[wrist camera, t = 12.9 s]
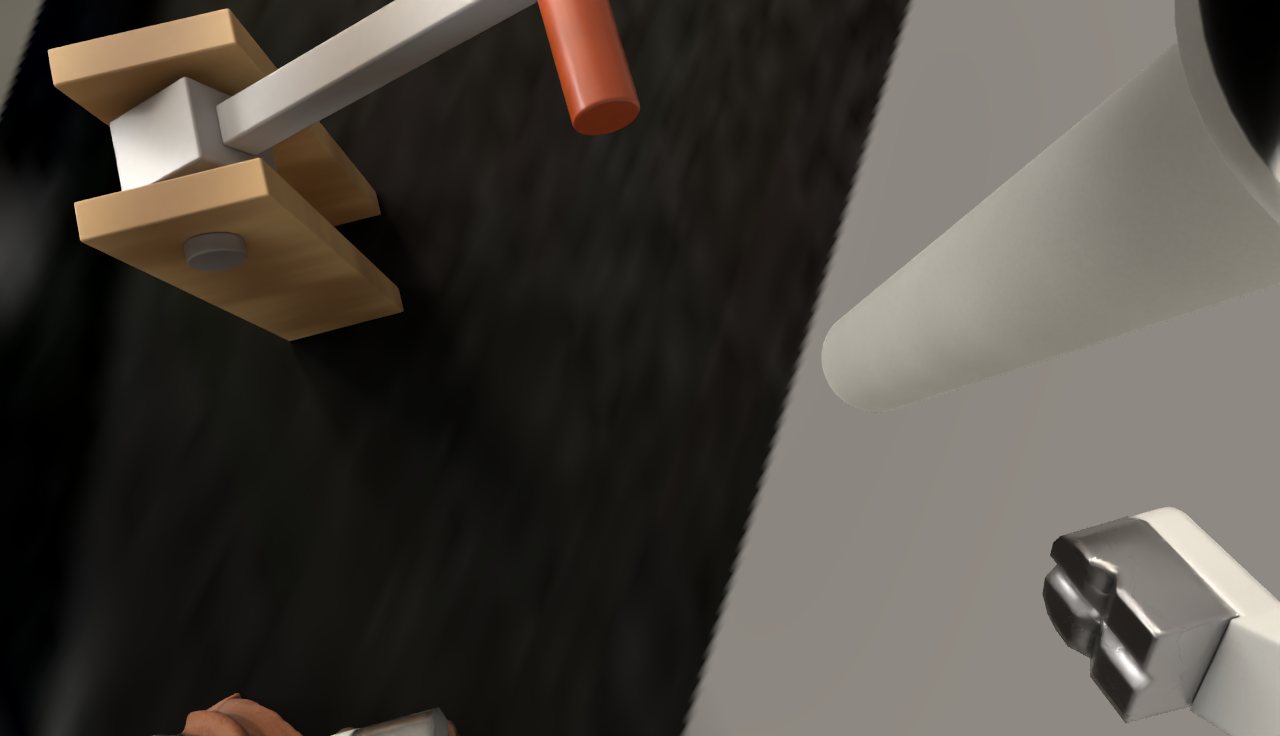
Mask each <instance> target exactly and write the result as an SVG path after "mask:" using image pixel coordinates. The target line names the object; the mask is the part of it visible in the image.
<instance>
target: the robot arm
mask: <svg viewBox="0 0 1280 736" xmlns="http://www.w3.org/2000/svg"><path fill="white" fill-rule="evenodd" d="M1050 556H1051V557H1052V558H1053V559H1054V561H1055V562H1056V563H1057V565H1056V566H1055V567H1054V569H1053V570H1052V571H1051V572H1050V573H1049V574H1048V575H1047V576H1046V577H1045V582H1044V589H1043V597H1044V601H1045V605H1046V609H1047V613H1048V615H1049V617H1050V619H1051V621H1052V623H1053V625H1054V627H1055V629H1056V631H1057V632H1058V633H1059V635H1060V636H1061V637H1062V639H1063V640H1064V642H1065V643H1066V644H1067V646H1068V647H1070V648H1072V649H1074V650H1076V651H1078V652H1080V653H1082V654H1083V655H1085V656H1087V657H1089V658H1090V676H1091V678H1092V679H1093V681H1094V682H1095V683H1096V685H1097V686H1098V687H1099V688H1100V690H1101V691H1102V692H1103V694H1104V695H1105V696H1106V698H1107V699H1108V700H1109V702H1110V703H1111V704H1112V705H1113V707H1114V708H1115V710H1116V711H1117V712H1118V714H1119V715H1120V716H1121V718H1122V719H1123V720H1124V722H1125V723H1128V722H1132V721H1136V720H1140V719H1143V718H1147V717H1151V716H1155V715H1159V714H1162V713H1167V712H1170V711H1174V710H1178V709H1182V708H1185V707H1190V706H1191V709H1190V711H1192V712H1193V713H1195V714H1196V715H1198V716H1200V717H1201V718H1203V719H1204V720H1206V721H1207V722H1209V723H1211V724H1212V725H1214V726H1215V727H1217V728H1219V729H1220V730H1222V731H1223V732H1225V733H1226V734H1228V735H1230V736H1280V602H1279V601H1278V600H1277V599H1276V598H1275V597H1274V596H1273V595H1272V594H1271V593H1270V592H1269V591H1268V590H1266V589H1265V588H1264V587H1263V586H1262V585H1261V584H1260V583H1259V582H1258V581H1257V580H1256V579H1255V578H1254V577H1252V575H1250V574H1249V573H1248V572H1247V571H1246V570H1245V569H1244V568H1243V567H1242V566H1241V565H1239V563H1237V561H1235V560H1234V559H1233V558H1232V557H1231V556H1230V555H1229V554H1228V553H1227V552H1226V551H1225V550H1224V549H1223V548H1222V547H1220V546H1219V545H1218V544H1217V543H1216V542H1215V541H1214V540H1213V539H1212V538H1211V537H1210V536H1209V535H1207V533H1205V532H1204V531H1203V530H1202V529H1201V528H1200V527H1199V526H1198V525H1197V524H1196V523H1195V522H1194V521H1192V519H1191V518H1189V517H1188V516H1187V515H1186V514H1185V513H1184V512H1182V511H1180V510H1178V509H1176V508H1174V507H1163V508H1159V509H1155V510H1152V511H1149V512H1145V513H1142V514H1138V515H1135V516H1131V517H1124V518H1121V519H1117V520H1114V521H1110V522H1107V523H1104V524H1100V525H1097V526H1093V527H1090V528H1087V529H1083V530H1080V531H1076V532H1073V533H1070V534H1067V535H1063V536H1060V537H1059V538H1058V539H1057V540H1056V541H1054V542H1053V546H1052V550H1051V554H1050ZM332 736H448V720H447V719H446V717H445V716H444V714H443V713H442V711H441V709H440V708H439V707H438V708H435V709H431V710H427V711H423V712H420V713H416V714H412V715H408V716H405V717H401V718H397V719H393V720H390V721H386V722H382V723H378V724H375V725H371V726H367V727H363V728H358V729H353V730H350V731H346V732H343V733H339V734H335V735H332Z"/></svg>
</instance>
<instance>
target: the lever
mask: <svg viewBox="0 0 1280 736" xmlns="http://www.w3.org/2000/svg"><path fill="white" fill-rule="evenodd" d="M536 2H538V4H539V7H540V11H541V15H542V18H543V22H544V25H545V29H546V32H547V36H548V39H549V43H550V47H551V50H552V54H553V57H554V61H555V64H556V68H557V71H558V75H559V79H560V82H561V86H562V89H563V93H564V96H565V100H566V104H567V107H568V111H569V114H570V118H571V121H572V125H573V127H574V128H575V130H576V131H577V132H579V133H581V134H585V135H602V134H607V133H610V132H614V131H616V130H619V129H621V128H623V127H625V126H627V125H628V124H630V123H631V122H632V121H633V120H634V119H635V118H636V117H637V116H638V114H639V111H640V103H639V100H638V97H637V93H636V90H635V86H634V83H633V80H632V76H631V73H630V70H629V66H628V63H627V60H626V56H625V53H624V49H623V46H622V43H621V39H620V36H619V33H618V29H617V26H616V22H615V19H614V16H613V12H612V9H611V6H610V2H609V0H395V1H393V2H392V3H390V4H388V5H386V6H385V7H383V8H381V9H380V10H378V11H376V12H375V13H373V14H371V15H369V16H368V17H366V18H364V19H363V20H361V21H359V22H358V23H356V24H354V25H353V26H351V27H349V28H347V29H346V30H344V31H342V32H341V33H339V34H337V35H336V36H334V37H332V38H330V39H329V40H327V41H325V42H324V43H322V44H320V45H319V46H317V47H315V48H313V49H312V50H310V51H308V52H307V53H305V54H303V55H302V56H300V57H298V58H297V59H295V60H293V61H291V62H290V63H288V64H286V65H285V66H283V67H281V68H280V69H278V70H276V71H274V72H273V73H271V74H269V75H268V76H266V77H264V78H263V79H261V80H259V81H258V82H256V83H254V84H252V85H251V86H249V87H247V88H246V89H244V90H242V91H241V92H239V93H237V94H235V95H234V96H230V95H227V94H225V93H223V92H220V91H218V90H216V89H213V88H211V87H209V86H206V85H204V84H202V83H199V82H197V81H195V80H192V79H190V78H188V77H183V78H181V79H179V80H178V81H176V82H175V83H173V84H171V85H170V86H168V87H167V88H165V89H163V90H162V91H160V92H158V93H157V94H155V95H154V96H152V97H150V98H149V99H147V100H146V101H144V102H142V103H141V104H139V105H137V106H136V107H134V108H133V109H131V110H129V111H128V112H126V113H125V114H123V115H121V116H120V117H118V118H116V119H115V120H113V121H112V122H110V129H111V134H112V140H113V145H114V151H115V156H116V162H117V167H118V172H119V178H120V183H121V189H122V191H124V190H129V189H133V188H137V187H141V186H145V185H149V184H153V183H157V182H161V181H165V180H170V179H174V178H178V177H182V176H186V175H190V174H194V173H198V172H202V171H206V170H211V169H215V168H219V167H223V166H227V165H231V164H235V163H239V162H243V161H248V160H252V159H256V158H262V159H263V160H264V161H265V162H266V163H267V164H268V165H269V166H270V167H271V168H272V169H273V170H274V171H275V172H277V169H276V164H275V160H274V155H273V150H272V146H274V145H276V144H278V143H280V142H281V141H283V140H285V139H287V138H289V137H291V136H292V135H294V134H296V133H298V132H300V131H302V130H303V129H305V128H307V127H309V126H311V125H313V124H314V123H316V122H318V121H320V120H322V119H323V118H325V117H327V116H329V115H331V114H333V113H334V112H336V111H338V110H340V109H342V108H344V107H345V106H347V105H349V104H351V103H353V102H355V101H356V100H358V99H360V98H362V97H364V96H366V95H367V94H369V93H371V92H373V91H375V90H377V89H378V88H380V87H382V86H384V85H386V84H388V83H389V82H391V81H393V80H395V79H397V78H399V77H400V76H402V75H404V74H406V73H408V72H410V71H411V70H413V69H415V68H417V67H419V66H421V65H422V64H424V63H426V62H428V61H430V60H432V59H433V58H435V57H437V56H439V55H441V54H443V53H444V52H446V51H448V50H450V49H452V48H454V47H455V46H457V45H459V44H461V43H463V42H464V41H466V40H468V39H470V38H472V37H474V36H475V35H477V34H479V33H481V32H483V31H485V30H486V29H488V28H490V27H492V26H494V25H496V24H497V23H499V22H501V21H503V20H505V19H507V18H508V17H510V16H512V15H514V14H516V13H518V12H519V11H521V10H523V9H525V8H527V7H529V6H530V5H532V4H534V3H536Z"/></svg>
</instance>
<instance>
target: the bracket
mask: <svg viewBox="0 0 1280 736" xmlns="http://www.w3.org/2000/svg"><path fill="white" fill-rule="evenodd" d="M48 55H49V60H50V66H51V72H52V78H53V83H54V86H55V87H56V88H58V89H59V90H60V91H62V92H63V93H64V94H66V95H67V96H69V97H70V98H71V99H73V100H74V101H75V102H77V103H78V104H80V105H81V106H82V107H84V108H85V109H86V110H88V111H89V112H91V113H92V114H93V115H95V116H96V117H97V118H99V119H100V120H102V121H103V122H104V123H106V124H107V125H108V126H110V122H112V121H113V120H115V119H116V118H118V117H120V116H121V115H123V114H125V113H126V112H128V111H129V110H131V109H133V108H134V107H136V106H137V105H139V104H141V103H142V102H144V101H146V100H147V99H149V98H150V97H152V96H154V95H155V94H157V93H158V92H160V91H162V90H163V89H165V88H167V87H168V86H170V85H171V84H173V83H175V82H176V81H178V80H179V79H181V78H183V77H188V78H190V79H192V80H195V81H197V82H199V83H202V84H204V85H206V86H209V87H211V88H213V89H216V90H218V91H220V92H223V93H225V94H227V95H230V96H234V95H235V94H237V93H239V92H241V91H242V90H244V89H246V88H247V87H249V86H251V85H252V84H254V83H256V82H258V81H259V80H261V79H263V78H264V77H266V76H268V75H269V74H271V73H273V72H274V71H276V70H278V69H277V68H276V67H275V66H274V64H273V63H272V62H271V61H270V59H269V58H268V57H267V56H266V54H265V53H264V52H263V51H262V49H261V48H260V47H259V46H258V44H257V43H256V42H255V41H254V39H253V38H252V37H251V36H250V34H249V33H248V32H247V31H246V29H245V28H244V27H243V26H242V24H241V23H240V22H239V21H238V19H237V18H236V17H235V16H234V14H233V13H232V12H231V11H230V9H223V10H219V11H214V12H210V13H206V14H201V15H197V16H193V17H188V18H184V19H180V20H175V21H171V22H167V23H162V24H158V25H154V26H149V27H145V28H141V29H136V30H132V31H128V32H123V33H119V34H115V35H110V36H106V37H102V38H97V39H93V40H89V41H84V42H80V43H76V44H71V45H67V46H63V47H58V48H54V49H50V50H48ZM272 150H273V155H274V160H275V164H276V169H277V172H275V171H274V170H273V169H272V168H271V167H270V166H269V165H268V164H267V163H266V162H265V161H264V160H263V159H262V158H256V159H252V160H248V161H243V162H239V163H235V164H231V165H227V166H223V167H219V168H215V169H211V170H206V171H202V172H198V173H194V174H190V175H186V176H182V177H178V178H174V179H170V180H165V181H161V182H157V183H153V184H149V185H145V186H141V187H137V188H133V189H129V190H124V191H120V192H116V193H112V194H108V195H104V196H100V197H96V198H92V199H88V200H83V201H79V202H76V203H75V204H74V206H75V211H76V217H77V223H78V229H79V235H80V240H81V241H82V242H83V243H85V244H87V245H90V246H92V247H94V248H96V249H98V250H100V251H102V252H104V253H106V254H108V255H111V256H113V257H115V258H117V259H119V260H121V261H123V262H125V263H127V264H129V265H132V266H134V267H136V268H138V269H140V270H142V271H144V272H146V273H148V274H150V275H152V276H155V277H157V278H159V279H161V280H163V281H165V282H167V283H169V284H171V285H173V286H176V287H178V288H180V289H182V290H184V291H186V292H188V293H190V294H192V295H194V296H196V297H199V298H201V299H203V300H205V301H207V302H209V303H211V304H213V305H215V306H217V307H220V308H222V309H224V310H226V311H228V312H230V313H232V314H234V315H236V316H238V317H241V318H243V319H245V320H247V321H249V322H251V323H253V324H255V325H257V326H259V327H261V328H264V329H266V330H268V331H270V332H272V333H274V334H276V335H278V336H280V337H282V338H285V339H287V340H289V341H292V340H296V339H300V338H304V337H308V336H311V335H315V334H319V333H323V332H327V331H331V330H334V329H338V328H342V327H346V326H350V325H354V324H358V323H361V322H365V321H369V320H373V319H377V318H381V317H385V316H388V315H392V314H396V313H400V312H403V306H402V301H401V297H400V293H399V289H398V287H397V286H396V285H395V284H394V283H393V282H392V281H390V280H389V279H388V278H387V277H386V276H385V275H384V274H383V273H382V272H381V271H380V270H379V269H378V268H377V267H376V266H375V265H374V264H373V263H371V262H370V261H369V260H368V259H367V258H366V257H365V256H364V255H363V254H362V253H361V252H360V251H359V250H358V249H357V248H356V247H355V246H354V245H352V244H351V243H350V242H349V241H348V240H347V239H346V238H345V237H344V236H343V235H342V234H341V233H340V232H339V231H338V230H337V229H336V228H335V227H333V226H337V225H341V224H345V223H349V222H353V221H357V220H361V219H365V218H369V217H373V216H377V215H380V213H381V212H380V208H379V204H378V200H377V196H376V192H375V191H374V189H373V188H372V187H371V186H370V184H369V183H368V182H367V181H366V179H365V178H364V177H363V176H362V174H361V173H360V172H359V171H358V169H357V168H356V167H355V166H354V164H353V163H352V162H351V161H350V159H349V158H348V157H347V156H346V154H345V153H344V152H343V151H342V149H341V148H340V147H339V146H338V144H337V143H336V142H335V141H334V139H333V138H332V137H331V136H330V134H329V133H328V132H327V131H326V129H325V128H324V127H323V126H322V124H321V123H320V122H319V121H318V122H316V123H314V124H313V125H311V126H309V127H307V128H305V129H303V130H302V131H300V132H298V133H296V134H294V135H292V136H291V137H289V138H287V139H285V140H283V141H281V142H280V143H278V144H276V145H274V146H272Z"/></svg>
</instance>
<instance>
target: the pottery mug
mask: <svg viewBox="0 0 1280 736" xmlns="http://www.w3.org/2000/svg"><path fill="white" fill-rule="evenodd" d="M353 729H355V728H351V727H349V728H344V729H342V730H340V731H339V732H338V733H336V734H339V733H343V732H346V731H350V730H353ZM356 729H358V728H356ZM154 736H168V735H154ZM172 736H302V734H300V733H299V732H298V731H296V730H295V729H294V728H293V727H292V726H291V725H290V724H289V723H287V722H286V721H284V720H283V719H282V717H280V716H279V715H278V714H277V713H276V712H274V711H272V710H269V709H267V708H265V707H263V706H261V705H259V704H258V703H256V702H254V701H251V700H248V699H242V698H241V695H240V694H239V693H237V694H234V695H232V696H230V697H228V698H226V699H224V700H222V701H220V702H219V703H217V704H216V705H214V706H212V707H210V708H209V709H208V710H206V711H204V710H202V711H195V712H191V713H190V714H189V715H188V717H187V722H186V726H185V729H184V731H183V732H182V733H181V734H180V735H172ZM448 736H461V735H459V734H458V732H457V728H456V727H455V725H454V723H453V722H451V721H449V720H448Z"/></svg>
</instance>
